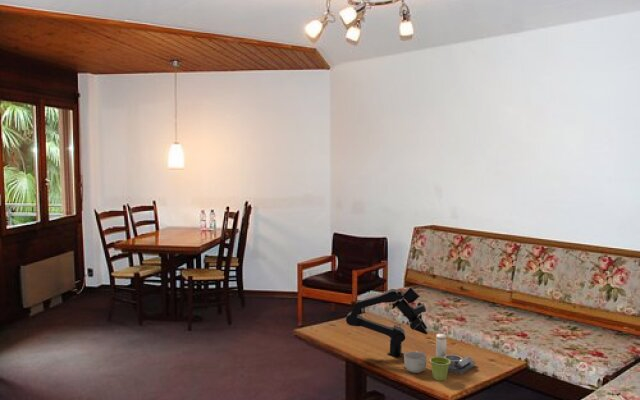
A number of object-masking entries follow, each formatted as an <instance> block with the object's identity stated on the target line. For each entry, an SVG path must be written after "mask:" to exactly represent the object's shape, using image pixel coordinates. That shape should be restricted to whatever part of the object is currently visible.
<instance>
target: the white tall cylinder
mask: <svg viewBox="0 0 640 400" xmlns="http://www.w3.org/2000/svg"><path fill="white" fill-rule="evenodd" d="M447 338H448V337H447V334H444V333H436V335H435V342H436V343H435V357H443V358H444V356H446V355H447Z"/></svg>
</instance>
